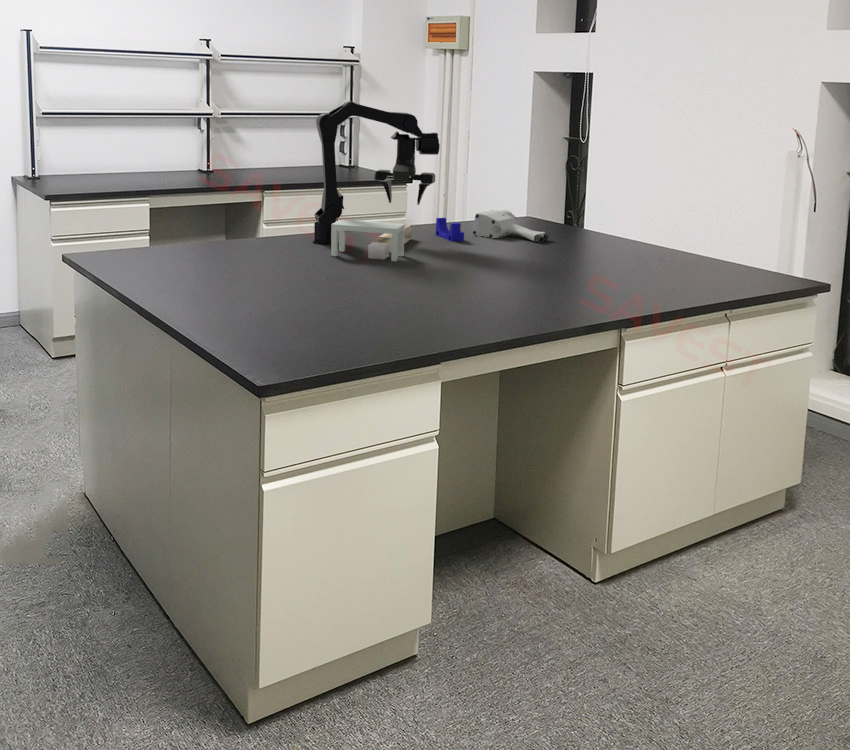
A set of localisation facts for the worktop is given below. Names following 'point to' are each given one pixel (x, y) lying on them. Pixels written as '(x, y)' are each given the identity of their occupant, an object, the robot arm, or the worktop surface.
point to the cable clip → (450, 234)
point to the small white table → (365, 226)
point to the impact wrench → (503, 226)
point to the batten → (388, 237)
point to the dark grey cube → (378, 250)
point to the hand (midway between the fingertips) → (404, 203)
